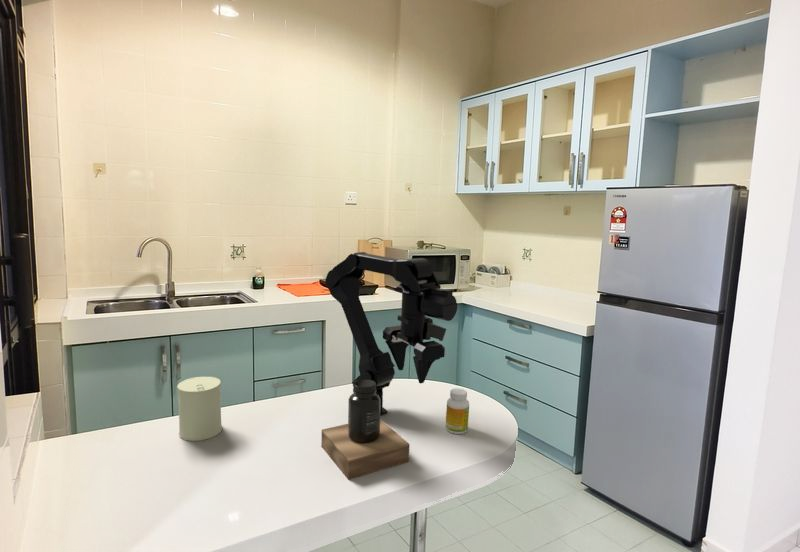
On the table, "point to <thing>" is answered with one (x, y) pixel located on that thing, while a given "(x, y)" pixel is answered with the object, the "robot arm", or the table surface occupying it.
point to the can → (199, 408)
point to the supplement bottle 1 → (364, 412)
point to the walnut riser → (364, 450)
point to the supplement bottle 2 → (457, 411)
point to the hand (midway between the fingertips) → (410, 376)
